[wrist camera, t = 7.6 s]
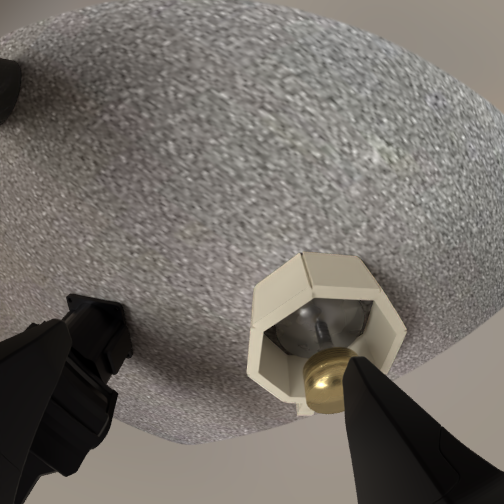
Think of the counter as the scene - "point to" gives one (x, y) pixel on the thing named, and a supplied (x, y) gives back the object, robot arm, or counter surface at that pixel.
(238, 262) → the counter surface
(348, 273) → the cream octagonal ring
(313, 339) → the plunger
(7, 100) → the travel mug
